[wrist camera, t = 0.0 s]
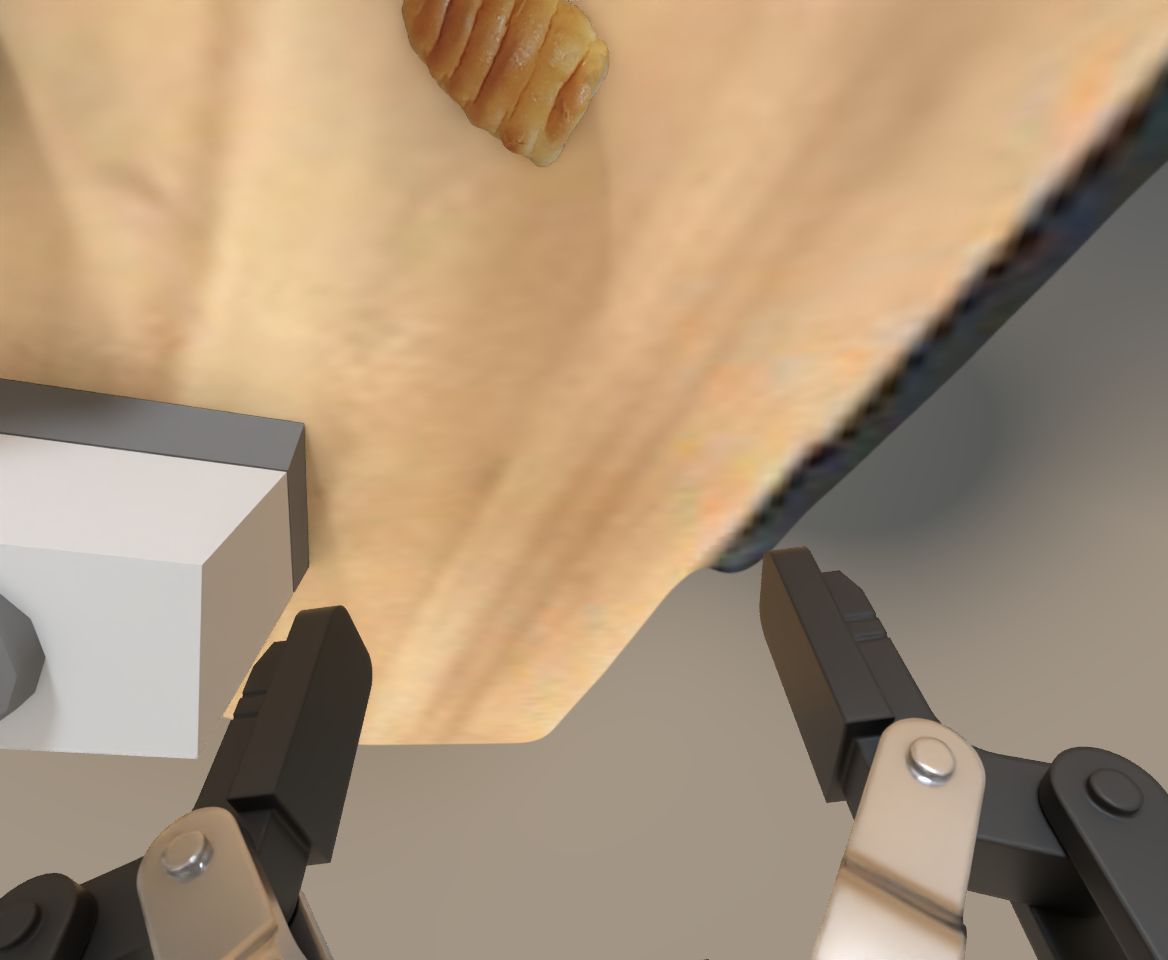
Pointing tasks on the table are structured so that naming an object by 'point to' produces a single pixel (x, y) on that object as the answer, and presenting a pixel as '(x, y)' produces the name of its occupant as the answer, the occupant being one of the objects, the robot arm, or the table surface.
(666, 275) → the table surface
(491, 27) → the pastry
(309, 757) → the robot arm
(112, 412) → the alarm clock
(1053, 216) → the table surface
